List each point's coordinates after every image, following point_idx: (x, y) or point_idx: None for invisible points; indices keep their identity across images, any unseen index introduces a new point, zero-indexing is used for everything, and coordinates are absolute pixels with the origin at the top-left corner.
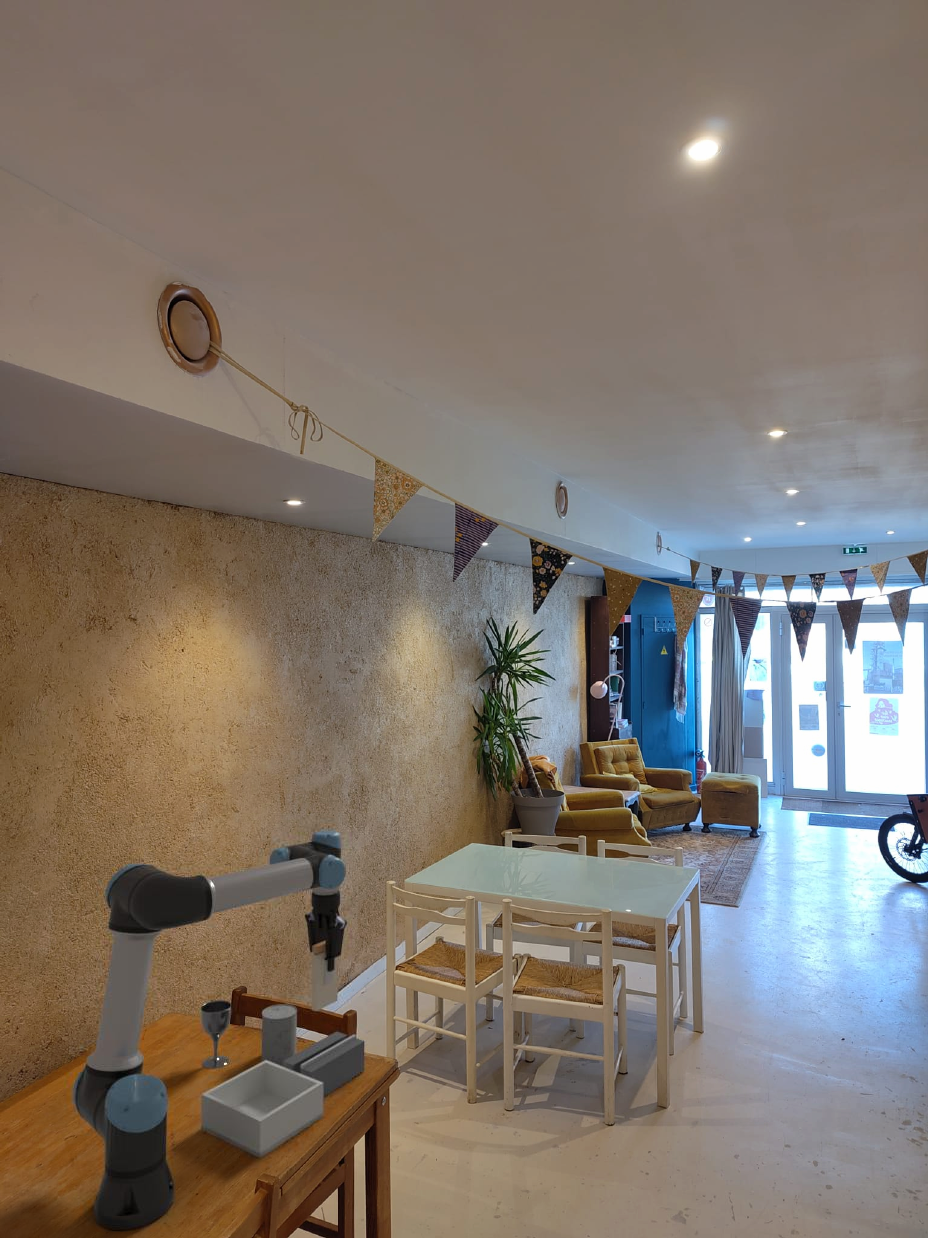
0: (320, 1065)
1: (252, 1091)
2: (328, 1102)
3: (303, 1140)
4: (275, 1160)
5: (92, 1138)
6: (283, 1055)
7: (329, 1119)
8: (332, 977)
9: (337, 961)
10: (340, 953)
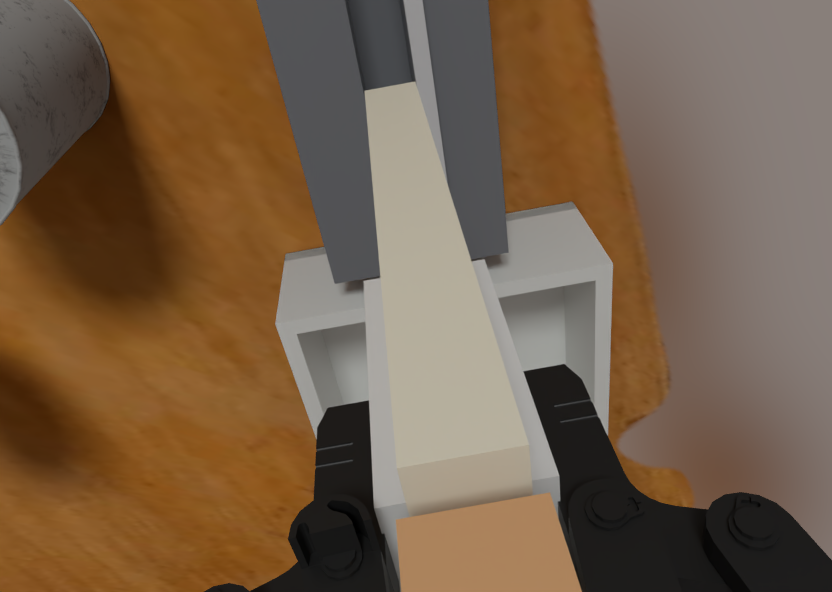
0: (495, 195)
1: (316, 334)
2: (517, 133)
3: (612, 305)
4: (613, 387)
5: (210, 585)
6: (95, 101)
7: (600, 194)
8: (495, 291)
9: (472, 273)
10: (806, 547)
